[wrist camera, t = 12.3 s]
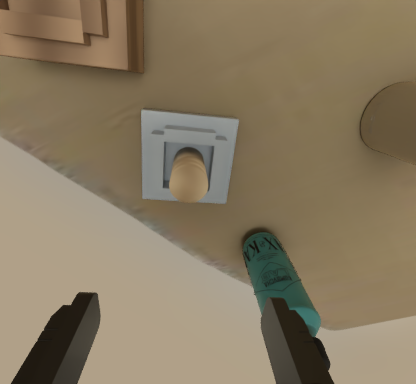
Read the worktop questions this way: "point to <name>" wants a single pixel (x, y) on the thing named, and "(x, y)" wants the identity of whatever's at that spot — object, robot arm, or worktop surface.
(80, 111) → the worktop surface
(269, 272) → the beverage bottle
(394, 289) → the worktop surface
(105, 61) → the walnut dock
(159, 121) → the slate dock
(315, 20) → the worktop surface
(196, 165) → the birch peg
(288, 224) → the worktop surface
